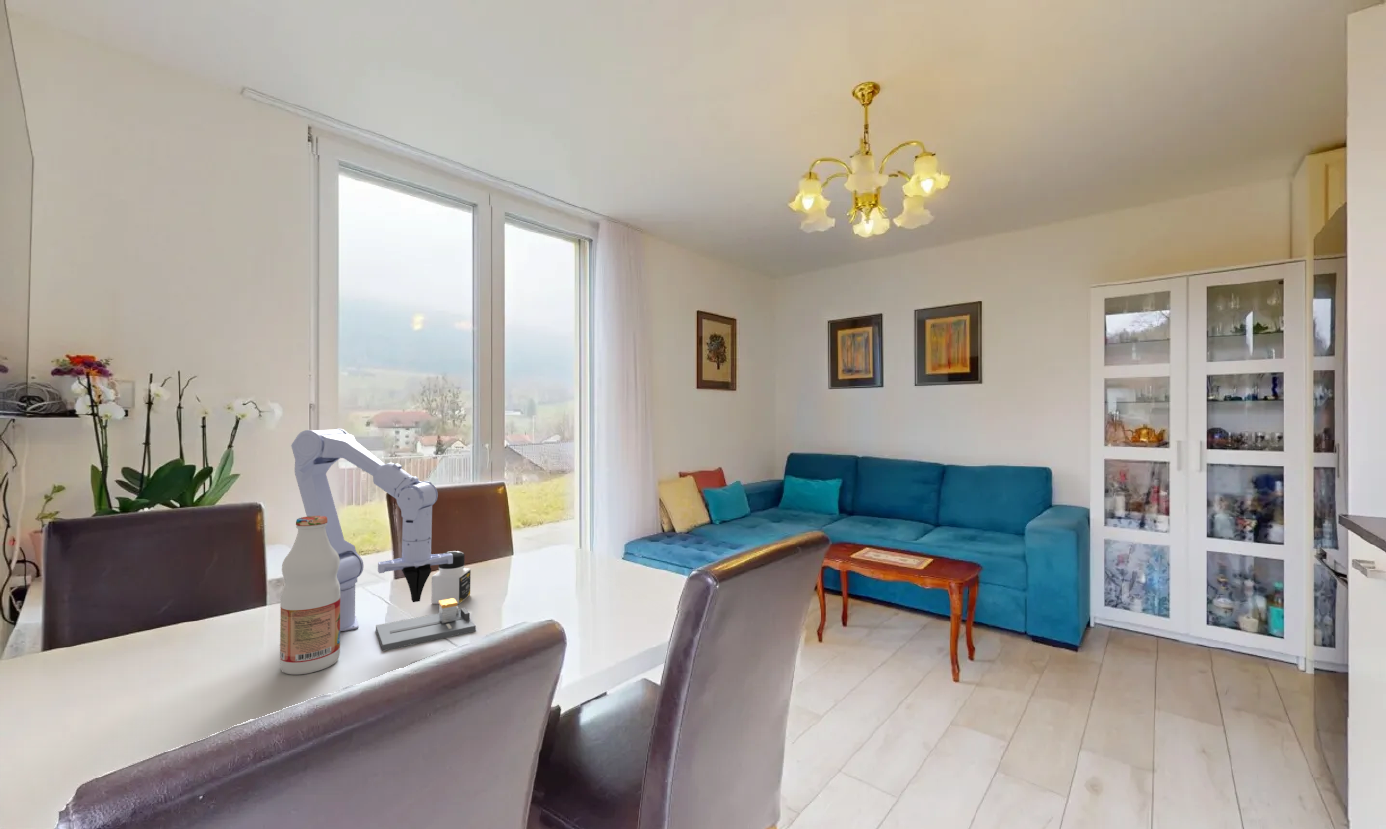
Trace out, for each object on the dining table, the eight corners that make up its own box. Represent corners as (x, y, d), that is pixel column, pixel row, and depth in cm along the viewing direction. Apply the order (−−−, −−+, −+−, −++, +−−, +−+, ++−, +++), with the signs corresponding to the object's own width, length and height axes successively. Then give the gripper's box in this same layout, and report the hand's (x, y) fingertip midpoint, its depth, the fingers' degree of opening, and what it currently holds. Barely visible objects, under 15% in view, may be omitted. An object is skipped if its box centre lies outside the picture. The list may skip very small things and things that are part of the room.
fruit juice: (266, 671, 102) (268, 520, 102) (314, 650, 111) (315, 511, 111) (306, 679, 100) (308, 524, 99) (351, 656, 109) (353, 515, 108)
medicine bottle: (459, 604, 138) (460, 556, 138) (430, 604, 138) (431, 556, 138) (470, 595, 145) (471, 549, 145) (443, 594, 145) (443, 549, 145)
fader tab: (441, 623, 122) (442, 605, 122) (438, 618, 125) (438, 600, 125) (457, 620, 124) (457, 602, 124) (453, 615, 127) (453, 598, 127)
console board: (382, 650, 112) (383, 636, 112) (375, 630, 122) (376, 617, 121) (475, 631, 122) (475, 617, 122) (462, 614, 132) (462, 601, 132)
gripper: (381, 546, 113) (380, 612, 113) (456, 538, 121) (455, 599, 122) (377, 539, 119) (375, 602, 119) (449, 531, 127) (448, 590, 127)
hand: (415, 600), depth 121 cm, fingers closed
